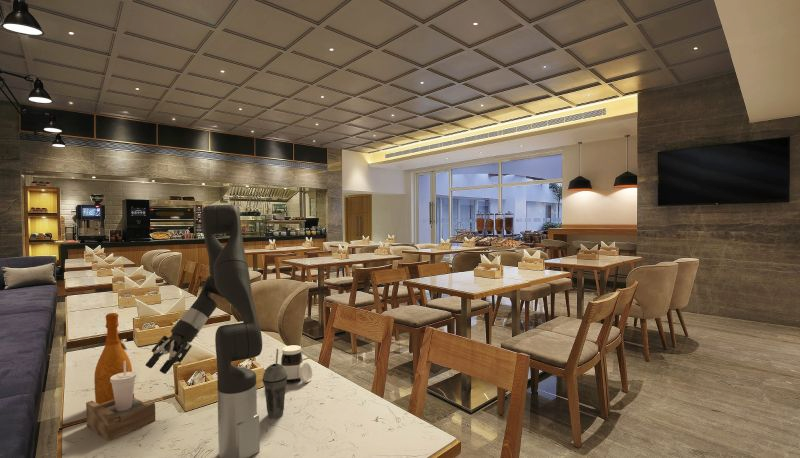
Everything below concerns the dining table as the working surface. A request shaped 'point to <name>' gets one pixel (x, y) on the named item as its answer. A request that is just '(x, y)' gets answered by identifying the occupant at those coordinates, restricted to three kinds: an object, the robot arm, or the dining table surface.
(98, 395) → the wine bottle
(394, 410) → the dining table surface
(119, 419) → the brown wooden tray
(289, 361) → the spread jar
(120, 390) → the smoothie
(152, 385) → the dining table surface
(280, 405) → the beverage cup
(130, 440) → the dining table surface
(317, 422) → the dining table surface
